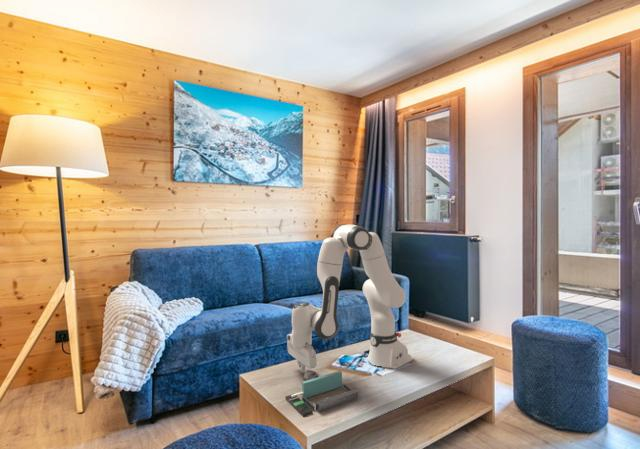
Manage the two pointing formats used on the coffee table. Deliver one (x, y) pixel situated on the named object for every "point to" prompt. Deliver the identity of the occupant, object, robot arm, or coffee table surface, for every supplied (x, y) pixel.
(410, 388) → the coffee table surface
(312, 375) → the mineral specimen
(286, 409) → the coffee table surface
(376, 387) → the coffee table surface
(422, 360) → the coffee table surface
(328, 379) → the gauge plate
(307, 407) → the gauge frame
